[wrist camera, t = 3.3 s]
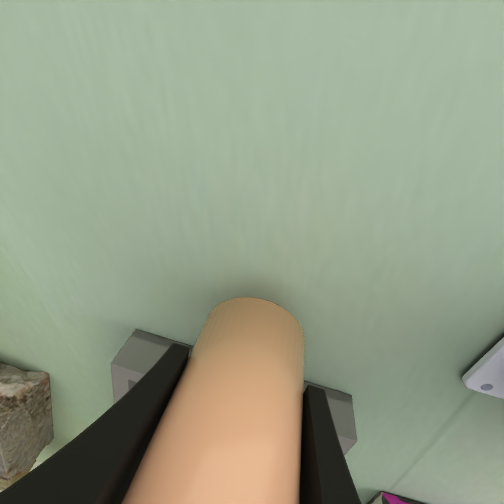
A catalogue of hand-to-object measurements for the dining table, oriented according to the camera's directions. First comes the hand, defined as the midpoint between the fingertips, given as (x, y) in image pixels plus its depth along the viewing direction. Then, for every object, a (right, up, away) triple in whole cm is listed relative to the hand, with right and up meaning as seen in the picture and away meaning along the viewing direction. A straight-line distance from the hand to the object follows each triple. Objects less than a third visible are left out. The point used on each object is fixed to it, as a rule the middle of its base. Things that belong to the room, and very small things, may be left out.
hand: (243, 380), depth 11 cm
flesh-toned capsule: (0, +1, +2) cm, 2 cm away
